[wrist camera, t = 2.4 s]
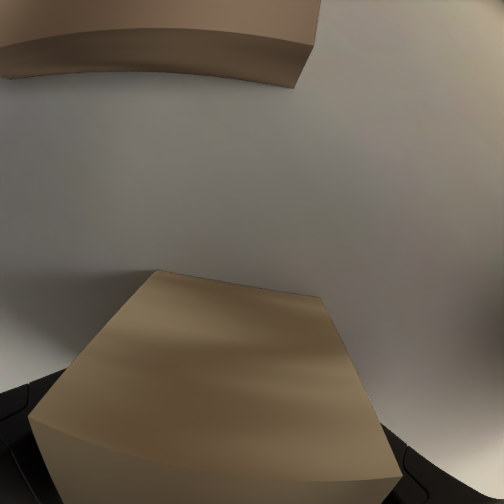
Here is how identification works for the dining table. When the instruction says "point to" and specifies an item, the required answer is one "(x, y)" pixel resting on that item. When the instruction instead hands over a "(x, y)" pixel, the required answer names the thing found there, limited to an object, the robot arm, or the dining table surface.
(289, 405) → the oak block
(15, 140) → the dining table surface
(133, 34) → the walnut block
